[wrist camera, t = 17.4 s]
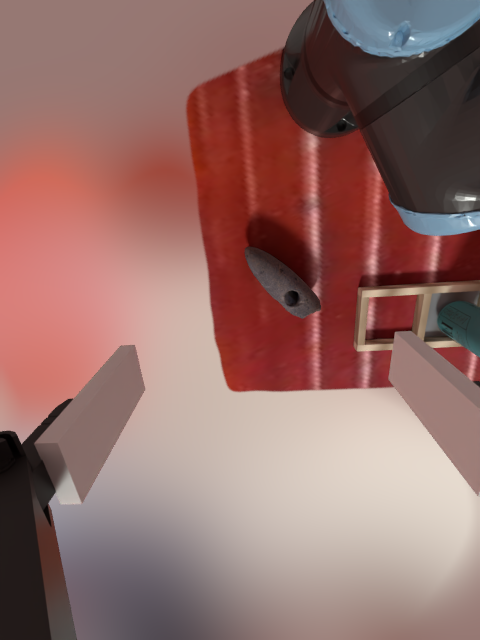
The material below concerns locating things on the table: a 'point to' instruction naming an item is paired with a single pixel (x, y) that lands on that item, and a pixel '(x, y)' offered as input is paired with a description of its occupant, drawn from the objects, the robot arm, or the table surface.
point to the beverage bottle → (461, 324)
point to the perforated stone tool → (282, 283)
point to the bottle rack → (416, 310)
